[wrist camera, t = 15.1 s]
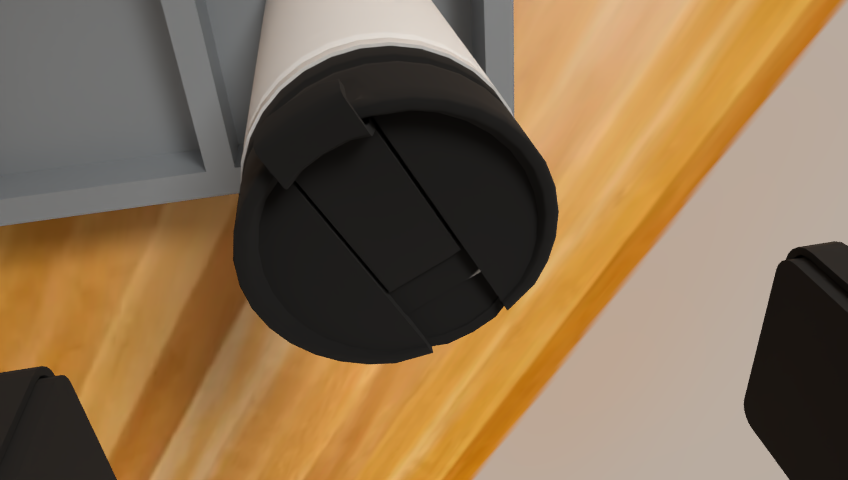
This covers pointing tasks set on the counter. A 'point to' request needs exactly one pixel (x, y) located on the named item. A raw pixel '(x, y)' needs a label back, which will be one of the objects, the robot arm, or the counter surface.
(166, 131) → the grey compartment tray
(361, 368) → the counter surface
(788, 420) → the robot arm
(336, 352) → the travel mug
